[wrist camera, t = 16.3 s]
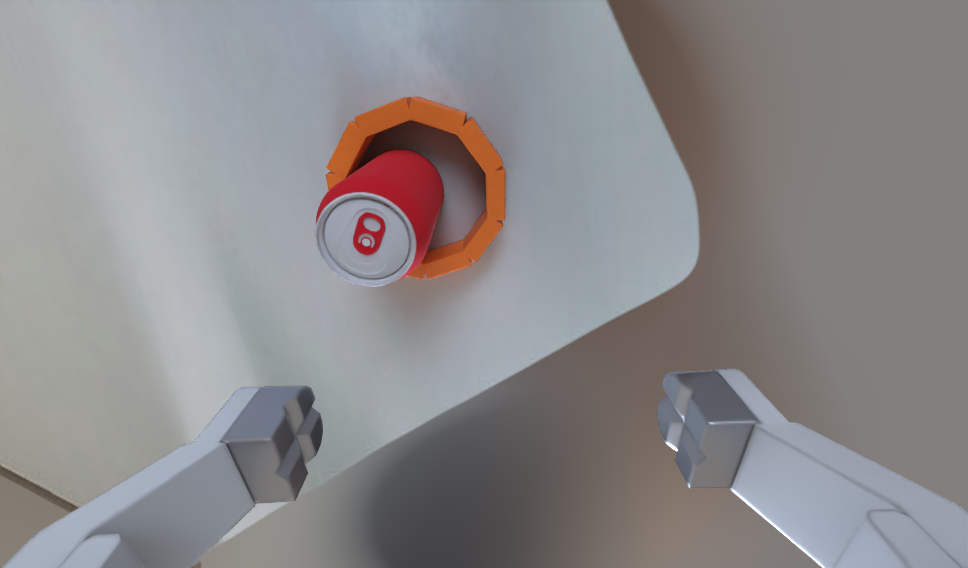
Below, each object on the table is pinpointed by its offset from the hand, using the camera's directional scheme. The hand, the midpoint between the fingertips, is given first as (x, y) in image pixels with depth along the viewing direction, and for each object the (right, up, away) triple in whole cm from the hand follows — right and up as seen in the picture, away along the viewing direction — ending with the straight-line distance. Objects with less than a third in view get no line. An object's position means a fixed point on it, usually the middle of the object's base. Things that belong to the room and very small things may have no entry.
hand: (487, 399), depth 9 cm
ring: (-5, +10, +22) cm, 25 cm away
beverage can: (-6, +10, +22) cm, 25 cm away
